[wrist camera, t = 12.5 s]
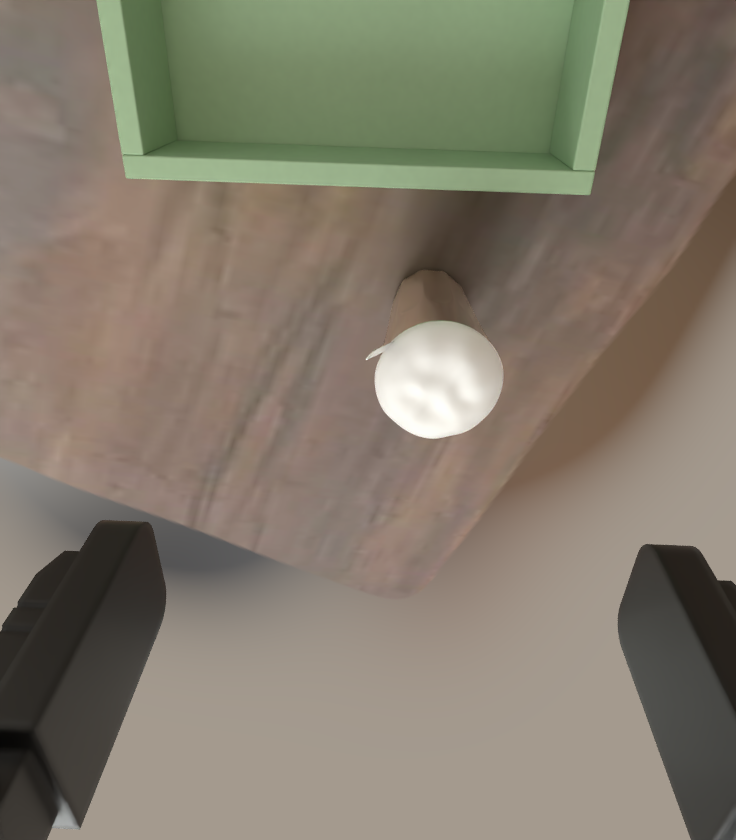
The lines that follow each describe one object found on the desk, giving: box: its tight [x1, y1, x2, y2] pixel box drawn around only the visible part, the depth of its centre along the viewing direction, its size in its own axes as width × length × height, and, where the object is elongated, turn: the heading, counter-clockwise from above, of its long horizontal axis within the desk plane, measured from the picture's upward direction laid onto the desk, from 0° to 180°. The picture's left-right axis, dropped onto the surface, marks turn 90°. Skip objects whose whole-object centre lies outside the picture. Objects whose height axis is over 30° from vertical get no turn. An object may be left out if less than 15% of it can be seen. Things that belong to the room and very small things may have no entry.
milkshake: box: [366, 270, 503, 439], centre depth 25 cm, size 5×5×10 cm
